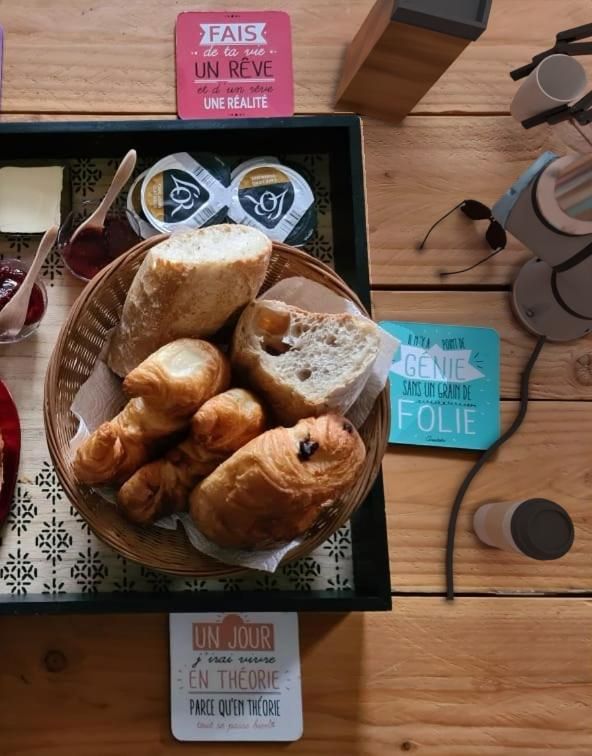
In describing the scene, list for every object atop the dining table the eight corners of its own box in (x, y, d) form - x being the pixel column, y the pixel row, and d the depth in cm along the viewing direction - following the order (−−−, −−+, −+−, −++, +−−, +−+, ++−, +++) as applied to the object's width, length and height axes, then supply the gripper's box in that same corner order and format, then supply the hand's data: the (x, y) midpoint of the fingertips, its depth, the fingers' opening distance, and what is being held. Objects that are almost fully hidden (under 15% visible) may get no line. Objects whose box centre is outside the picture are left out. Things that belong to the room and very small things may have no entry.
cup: (549, 132, 125) (589, 102, 115) (502, 131, 125) (538, 100, 115) (545, 88, 126) (585, 54, 116) (499, 87, 126) (534, 53, 116)
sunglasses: (503, 248, 126) (517, 240, 121) (445, 288, 127) (457, 282, 122) (464, 200, 128) (477, 190, 123) (407, 240, 128) (417, 232, 123)
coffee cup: (485, 562, 119) (542, 573, 104) (455, 512, 120) (508, 516, 105) (532, 536, 119) (595, 543, 105) (502, 487, 121) (561, 487, 106)
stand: (399, 124, 130) (473, 39, 105) (333, 107, 130) (391, 18, 105) (413, 64, 131) (489, -34, 107) (348, 47, 132) (409, -54, 107)
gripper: (710, 104, 108) (537, 164, 123) (675, -24, 111) (510, 51, 126) (706, 88, 102) (525, 154, 118) (669, -45, 105) (497, 36, 121)
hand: (517, 101), depth 122 cm, fingers closed on cup, 8 cm apart
